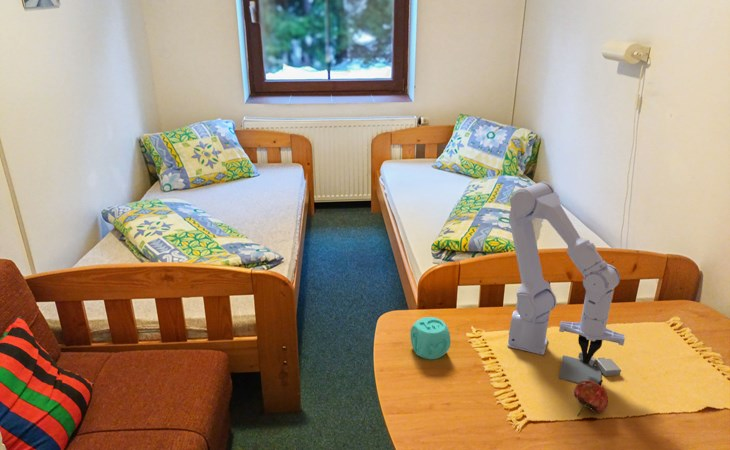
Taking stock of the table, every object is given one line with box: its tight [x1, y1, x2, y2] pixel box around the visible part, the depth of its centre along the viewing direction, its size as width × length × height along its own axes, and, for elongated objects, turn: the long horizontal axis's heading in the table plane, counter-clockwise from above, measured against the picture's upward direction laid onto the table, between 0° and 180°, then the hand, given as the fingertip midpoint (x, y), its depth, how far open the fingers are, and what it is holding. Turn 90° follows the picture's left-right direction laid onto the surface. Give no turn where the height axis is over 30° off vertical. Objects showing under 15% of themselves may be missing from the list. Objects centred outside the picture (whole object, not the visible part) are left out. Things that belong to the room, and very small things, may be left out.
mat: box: [558, 354, 602, 384], centre depth 139 cm, size 10×10×1 cm
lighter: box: [577, 351, 622, 377], centre depth 140 cm, size 7×2×8 cm
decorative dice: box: [409, 316, 451, 360], centre depth 145 cm, size 8×8×8 cm
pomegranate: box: [573, 379, 609, 417], centre depth 125 cm, size 7×7×10 cm
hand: (585, 361), depth 137 cm, fingers closed
